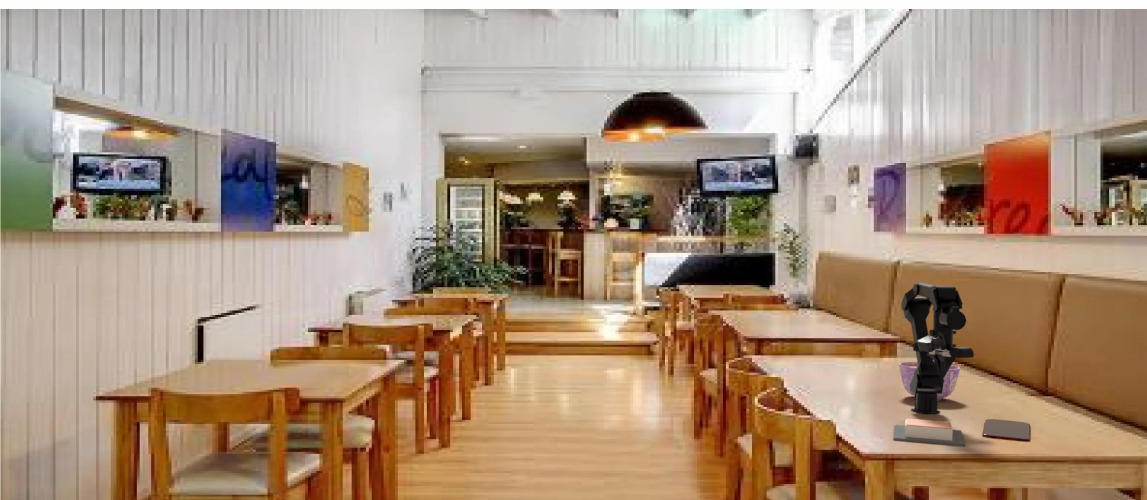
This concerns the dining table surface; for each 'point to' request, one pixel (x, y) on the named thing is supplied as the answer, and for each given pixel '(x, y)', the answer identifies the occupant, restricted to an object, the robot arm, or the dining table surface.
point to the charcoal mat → (956, 439)
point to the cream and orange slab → (928, 429)
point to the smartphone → (1006, 430)
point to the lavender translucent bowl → (907, 376)
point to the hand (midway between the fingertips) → (942, 377)
